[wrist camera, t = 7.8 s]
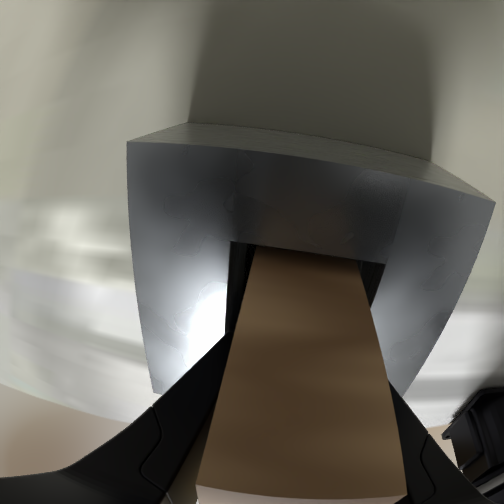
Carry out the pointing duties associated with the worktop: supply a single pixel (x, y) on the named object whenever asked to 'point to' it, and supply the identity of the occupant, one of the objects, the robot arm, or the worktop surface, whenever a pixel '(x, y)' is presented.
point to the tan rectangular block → (303, 393)
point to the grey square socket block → (292, 234)
